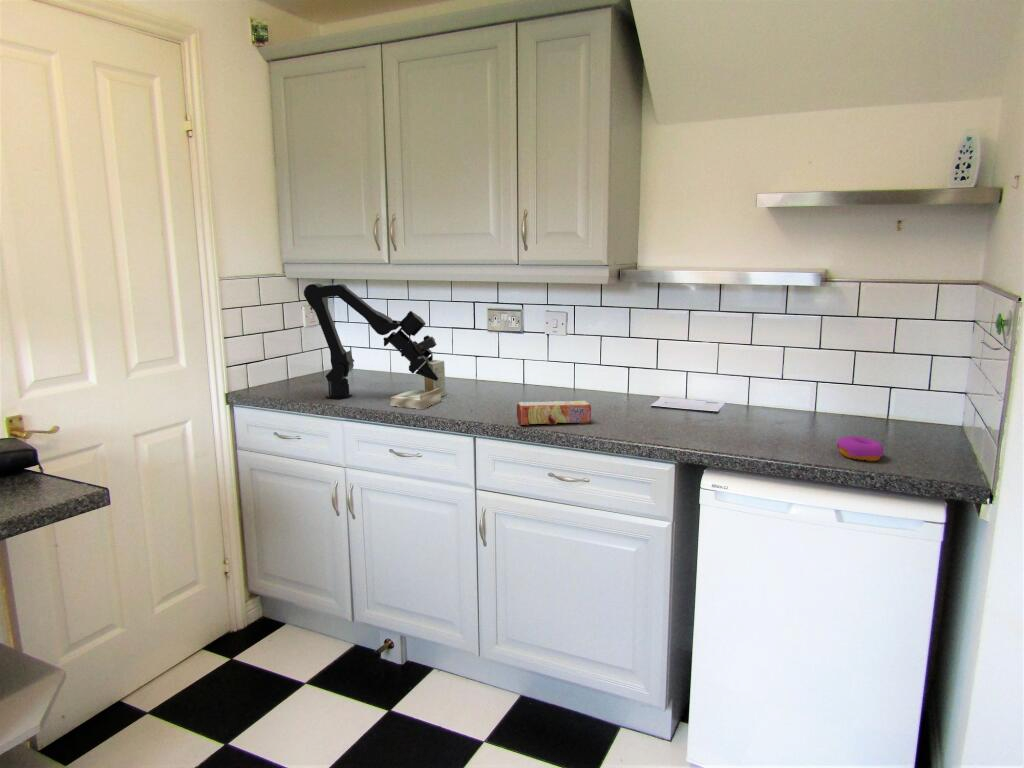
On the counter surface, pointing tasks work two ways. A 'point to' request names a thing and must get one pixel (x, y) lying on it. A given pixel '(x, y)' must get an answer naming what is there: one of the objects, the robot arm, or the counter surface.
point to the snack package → (553, 412)
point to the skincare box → (439, 370)
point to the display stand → (416, 399)
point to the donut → (860, 448)
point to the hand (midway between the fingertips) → (438, 377)
